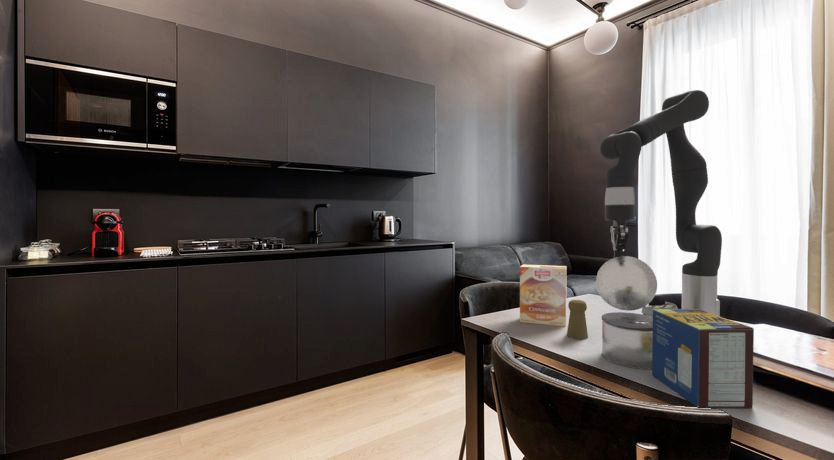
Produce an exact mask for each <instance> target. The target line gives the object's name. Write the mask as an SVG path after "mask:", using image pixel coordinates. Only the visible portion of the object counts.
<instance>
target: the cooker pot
mask: <svg viewBox="0 0 834 460" xmlns="http://www.w3.org/2000/svg"><path fill="white" fill-rule="evenodd" d="M601 321H602V323H601V324H602V328H601V329H602V330H601V331H602V332H601V333H602V335H601V344H602V345H601V353H602V354H601V355H602V357H603V358H604V359H606V360H607V361H609V362H612V363H614V364H617V365H619V366H623V367H628V368H632V367H633V369H640V368H643V370H652V338H653V317H652V316H648V315H643V313H634V312H622V311H619V312H616V311H615V312H607V313H604V314H602V315H601Z"/></svg>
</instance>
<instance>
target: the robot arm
mask: <svg viewBox="0 0 834 460" xmlns="http://www.w3.org/2000/svg"><path fill="white" fill-rule="evenodd" d="M709 100H710V99H709V97H708V95H707V94H706V93H705V91H703V90H700V89H691V90H687V91H683V92H681V93H677V94H674V95H672V96H669V97H667V98H666V99H664V100H663V102H662V104H661V111H659V112H656V113H654V114H651V115H649V116H646V117H644V118H642V119H641V120H639V121H637V122H635V123H633V124H632V125H631V126H629V127H627V128H623V129H621V130H618V131H616V132H614V133H612V134H609V135H607V136H606V137H605V138H604V139H603V141H601V144H600V146H599V148H600V149H599V151H600V154H601V155H602V157H603V158H605V159H607V160H613V161H614V160H618V161H617V164H616V165H615V166H612V167H610V168H608V169H607V171H606V173H605V174H606V177H605V179H606V180H605V182H606V183H605V185H606V186H605V196H604V220H605V221H613V222H612V226H610V235H611V236H610V237H611V246H612V249H613V258H616V257H620V256H625V255H624V253H625V250H626V249H627V244H628V237H629V226H627V224H626V222H627V221H633V220H635V189H634V188H635V171H636V168H637V165H638V162H639V159H640V158H639V157H640V155H641V152H642V148H643V147H645V146H646V145H648V144H650V143H651V142H653V141H655V140H657V139H658V138H659V137H661V136H663V135H666V138H667V144H668V145H667V146H668V153H669V157H670V168H671V169H670V170H671V178H672V185H673V186H672V187H673V191H674V192H673V193H674V202H675V203H674V205H675V239H676V243H677V246H678V248H679V249H680V250H681V251H682V252H685V253H691V254H692V253H693V254H697V255H696V258H695V260H694V261H692V262H687V263H684V264H683V265H682V267H681V309H700V310H702V311H705V312H708V313H711V314H714V315H717V316H720V317H721V315H720V310H721V309H720V308H721V307H720V306H721V301H720V299H718V272H719V269H720V266H721V260H722V259H721V257H722V247H723V245H722V244H723V237H722V232H721V230H720V229H719V228H718V227H717V225H713V224H697V221H696V212H697V211H696V210H697V206H698V205H699V202H700V200H701V198H702V197H703V195H704V193H705V191H706V190H707V187H708V184H709V176H708V168H707V161H706V160H705V157H704V156H703V155H702V154H701V152H699V150H697V148H695V146H694V145H693V144H692V143H691V142H690V140H689V139H688V136H687V133H686V129H685V126H684V125H685V124H686V123H689V122H694V121H697V120H698V119H701V118H703V117H704V116H705V115H706V114H707V112H708V110H709V106H710V101H709Z"/></svg>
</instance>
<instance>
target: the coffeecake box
mask: <svg viewBox="0 0 834 460" xmlns="http://www.w3.org/2000/svg"><path fill="white" fill-rule="evenodd" d="M567 267H568V266H567V265H549V264H547V265H546V264H544V265H543V264H525V263H524V264H522V265H520V267H519V323H523V324H524V323H525V324H526V323H527V324H535V325H544V326H545V325H547V326H555V327H556V326H557V327H564V328H565V327H566V326H567V325H566V324H567V289H568V288H567V286H568V285H567V277H568V276H567V272H568V271H567Z"/></svg>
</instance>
